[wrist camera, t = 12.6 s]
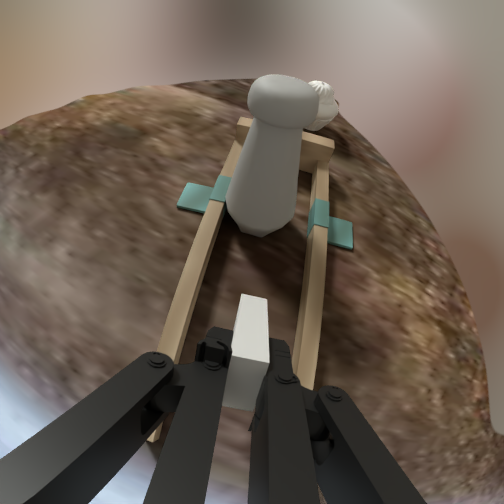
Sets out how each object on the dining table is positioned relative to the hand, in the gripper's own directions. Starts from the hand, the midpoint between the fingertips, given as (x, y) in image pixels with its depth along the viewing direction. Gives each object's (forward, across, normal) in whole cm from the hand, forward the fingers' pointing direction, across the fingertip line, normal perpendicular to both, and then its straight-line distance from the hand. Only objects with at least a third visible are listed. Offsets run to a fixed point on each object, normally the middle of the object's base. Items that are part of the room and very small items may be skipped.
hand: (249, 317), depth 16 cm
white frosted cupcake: (+23, +3, +18) cm, 29 cm away
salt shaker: (+10, -1, +5) cm, 11 cm away
